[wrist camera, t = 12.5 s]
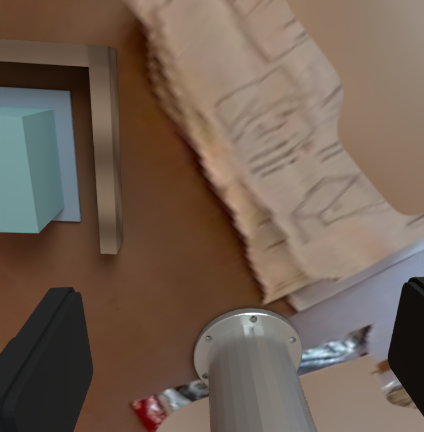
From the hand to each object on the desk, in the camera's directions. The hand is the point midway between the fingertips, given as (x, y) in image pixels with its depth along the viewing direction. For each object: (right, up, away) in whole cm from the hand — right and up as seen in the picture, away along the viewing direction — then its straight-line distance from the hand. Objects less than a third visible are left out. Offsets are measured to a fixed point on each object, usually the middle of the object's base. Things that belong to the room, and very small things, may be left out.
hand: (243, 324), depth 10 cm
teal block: (-17, +8, +22) cm, 29 cm away
